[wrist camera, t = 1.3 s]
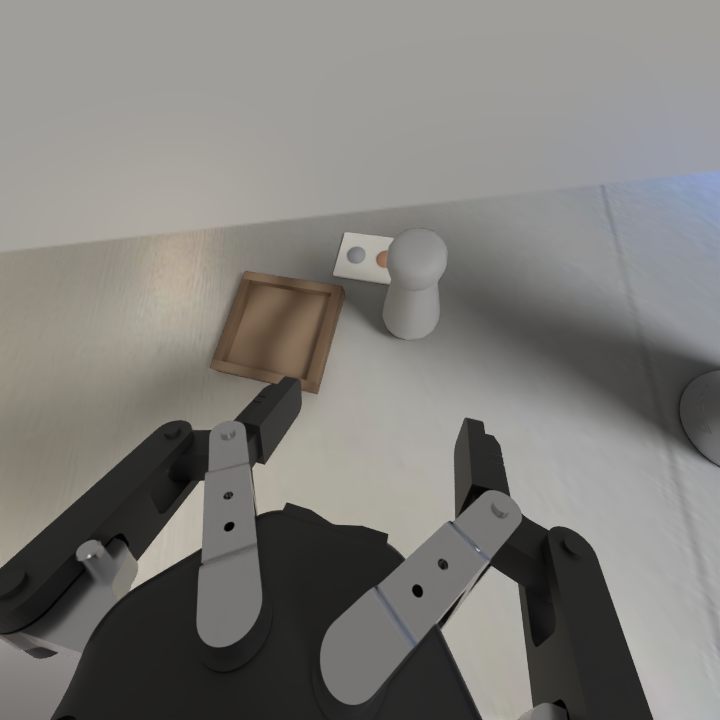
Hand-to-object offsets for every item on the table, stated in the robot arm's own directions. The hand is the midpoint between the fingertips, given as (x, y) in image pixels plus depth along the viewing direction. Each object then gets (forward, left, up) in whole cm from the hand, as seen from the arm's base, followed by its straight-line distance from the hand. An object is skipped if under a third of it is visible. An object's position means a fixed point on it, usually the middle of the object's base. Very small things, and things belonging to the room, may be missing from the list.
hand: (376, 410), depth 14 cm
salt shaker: (0, -11, -16) cm, 20 cm away
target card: (+6, -18, -16) cm, 25 cm away
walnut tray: (+14, -7, -16) cm, 23 cm away
